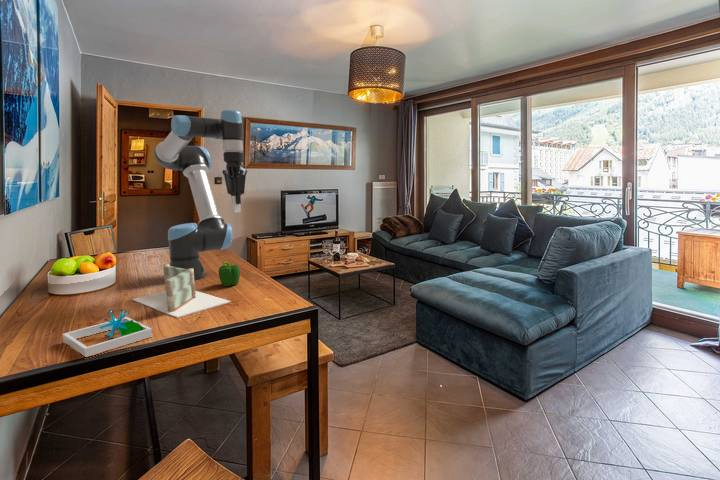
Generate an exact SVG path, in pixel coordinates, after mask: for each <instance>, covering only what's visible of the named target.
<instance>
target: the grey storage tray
mask: <svg viewBox="0 0 720 480" xmlns="http://www.w3.org/2000/svg"><path fill="white" fill-rule="evenodd" d="M118 319H119V318H117V319H116V318H115V320H116V321H117V320H118ZM131 320H133V321H134V322H136V323H139V324H140V325H141V327H142V331H139V332H135V333H132V334H129V335H125V336H122V337H121V336H119V337H116V338H113V339H110V340H106V341H103V342H102V341H101V342H99V343H96V344H93V345H89V346H86V345H85V344H84V343H82V342H81V341H79V340H76V339H77V338H81V337H84V336H89V335H92V334H96V333H99V332H103V331H107V332H109V331H108V330H112V327H113V326H109V327H104V328H103V329H101V328H100V327H101V326H104V325H107V324H111V323H110V322H108V321H105V322H102V323H101V322H100V323H98V324H95V325H91V326H87V327H86V326H85V327H83V328H79V329H76V330H72V331H68V332H64V333H62V340H63V343H64V342H66V343H67V344H68V345H70V346H71V347H73V348H74V349H75V350H77V351H78V352H80V353H81V354H82V355H84V356H85V357H87V356H90V355H93V354H96V353H100V352H103V351H106V350H109V349H113V348H116V347H119V346H122V345H126V344H129V343H133V342H136V341H139V340H142V339H145V338H149V337H152V338H153V329H152V328H151V327H150V326H147V325H145V324H143V323H141V322H139V321H137V320H135V319H132V318H130V317H128V316H124V317H123V318H122V320H121V323H122V322H127V321H131ZM149 339H150V338H149ZM133 344H134V343H133Z"/></svg>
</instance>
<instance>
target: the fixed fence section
mask: <svg viewBox="0 0 720 480" xmlns="http://www.w3.org/2000/svg"><path fill="white" fill-rule="evenodd" d="M169 265H170V263H164V264H163V276H164V277H163V278H164V281H165V280H167V279H170V278H172V277H174V276H176V275H178V274H180V273H182V272H184V271H186V270H190V279H191V291H192V298H196V294H195V291H196V283H195V281H196V280H194V269H193V268H190V269H183V268H178V267H172V266H169ZM164 288H165V290H166V283H165V282H164Z"/></svg>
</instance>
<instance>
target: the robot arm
mask: <svg viewBox="0 0 720 480" xmlns="http://www.w3.org/2000/svg"><path fill="white" fill-rule="evenodd" d="M170 122H171V123H170V124H171V125H170V126H171V127H170V128H171V131H170V132H169V133H168V135H167V136H166V137H165V139H164V140H163V141H160V142H159V143H157V144H156V146H155V148H154V150H153V156H154V157H153V158H155V161H156V162H157V163H158V164H159V165H160V166H161V167H163V168H164V169H167V170H170V171H182V174H183V176H184V177H186V178H187V179H188V184H189V186H190V191H191V195H192V198H193V201H194V204H195V208H196V212H197V215H198V218H199V221H198V223H196V222H190V223H189V222H188V223H183V224H182V223H181V224H177V225H174V226H171V227H170V228H168V230H167V241H168V252H169V266H172V267H178V268H183V269H190V268H193V269H194V281H196V280H199V279H202V278H205V277H206V272H205V271H206V270H205V269H204V266H203V263H202V262H201V259H200V253H205V252H210V251H221V250H225V249H228V248H229V247H230V246H231V244H232V242H233V228H232V226H231V224H230V223H228V222H227V223H226V222H225V219H224V218H223V217H222V216H220V214H219V211H218V209H217V204H216V201H215V197H214V193H213V191H212V188H211V184H210V180H209V178H208V173H209V172H210V169H211V167H212V161H211V156H210V153H209V151H208V149H207V148H205V147H204V146H201V145H200V146H199V145H188V144H189V143H190V142H191V141H192V139H194V138H208V139H209V138H210V139H214V140H222V151H224V152H223V153H222V154H223V155H222V156H223V162H225V163H226V164H225V170H224V169H223V170H222V171H221V172H222V174H223V177H224V181H225V186H226V191H227V194H228V195H230V197H231V204H232V213H241V212H242V207H241V203H242V199H241V197H242V195H244V194H245V189H246V185H245V184H246V178H247V177H246V176H247V173H248V170H247V169H245V168H244V167H243V162H244V161H245V157H244V154H245V153H244V145H243V144H244V141H243V140H244V139H243V121H242V114H241V112H240V111H239V110H235V109H234V110H233V109H224V110H222V111H221V112H220V118H212V117H211V118H210V117H202V116H201V117H200V116H190V115H180V114H179V115H178V114H177V115H172V117H171V121H170Z"/></svg>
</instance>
